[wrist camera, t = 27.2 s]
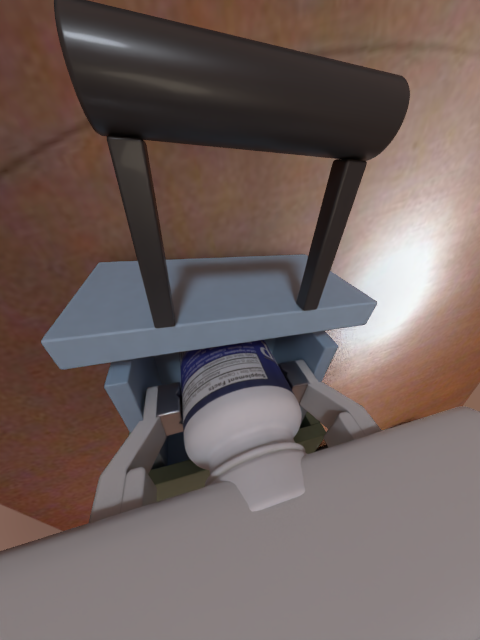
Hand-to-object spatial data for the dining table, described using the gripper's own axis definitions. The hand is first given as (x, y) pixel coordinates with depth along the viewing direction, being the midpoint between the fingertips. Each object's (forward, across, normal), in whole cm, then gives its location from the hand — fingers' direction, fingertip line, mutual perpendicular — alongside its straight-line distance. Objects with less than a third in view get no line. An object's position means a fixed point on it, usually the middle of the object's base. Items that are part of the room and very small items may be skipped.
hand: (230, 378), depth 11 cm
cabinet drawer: (+4, 0, -2) cm, 5 cm away
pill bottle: (+3, 0, 0) cm, 3 cm away
